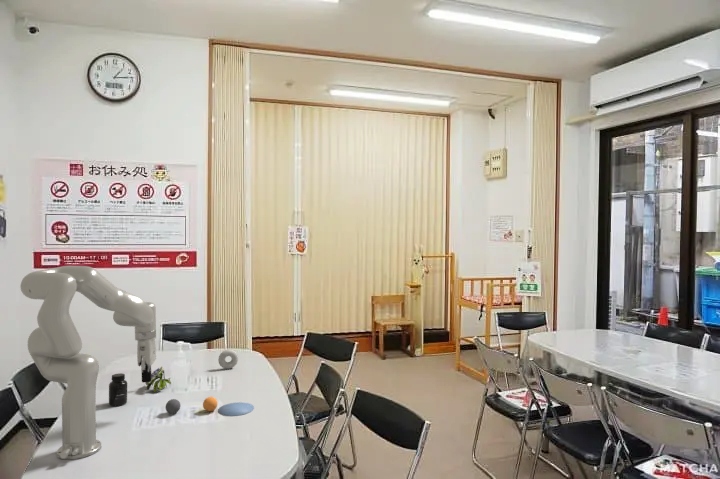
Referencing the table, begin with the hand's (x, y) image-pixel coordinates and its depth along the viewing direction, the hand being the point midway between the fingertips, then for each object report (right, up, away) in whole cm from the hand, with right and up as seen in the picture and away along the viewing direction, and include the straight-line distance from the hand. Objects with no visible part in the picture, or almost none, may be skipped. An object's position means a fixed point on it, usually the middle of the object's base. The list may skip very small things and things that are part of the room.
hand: (146, 381), depth 189 cm
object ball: (+23, -10, +4) cm, 26 cm away
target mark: (+33, -13, +6) cm, 36 cm away
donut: (+15, -12, +62) cm, 65 cm away
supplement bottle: (-17, -13, +12) cm, 24 cm away
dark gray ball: (+10, -10, +2) cm, 14 cm away
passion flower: (-8, -13, +31) cm, 34 cm away
